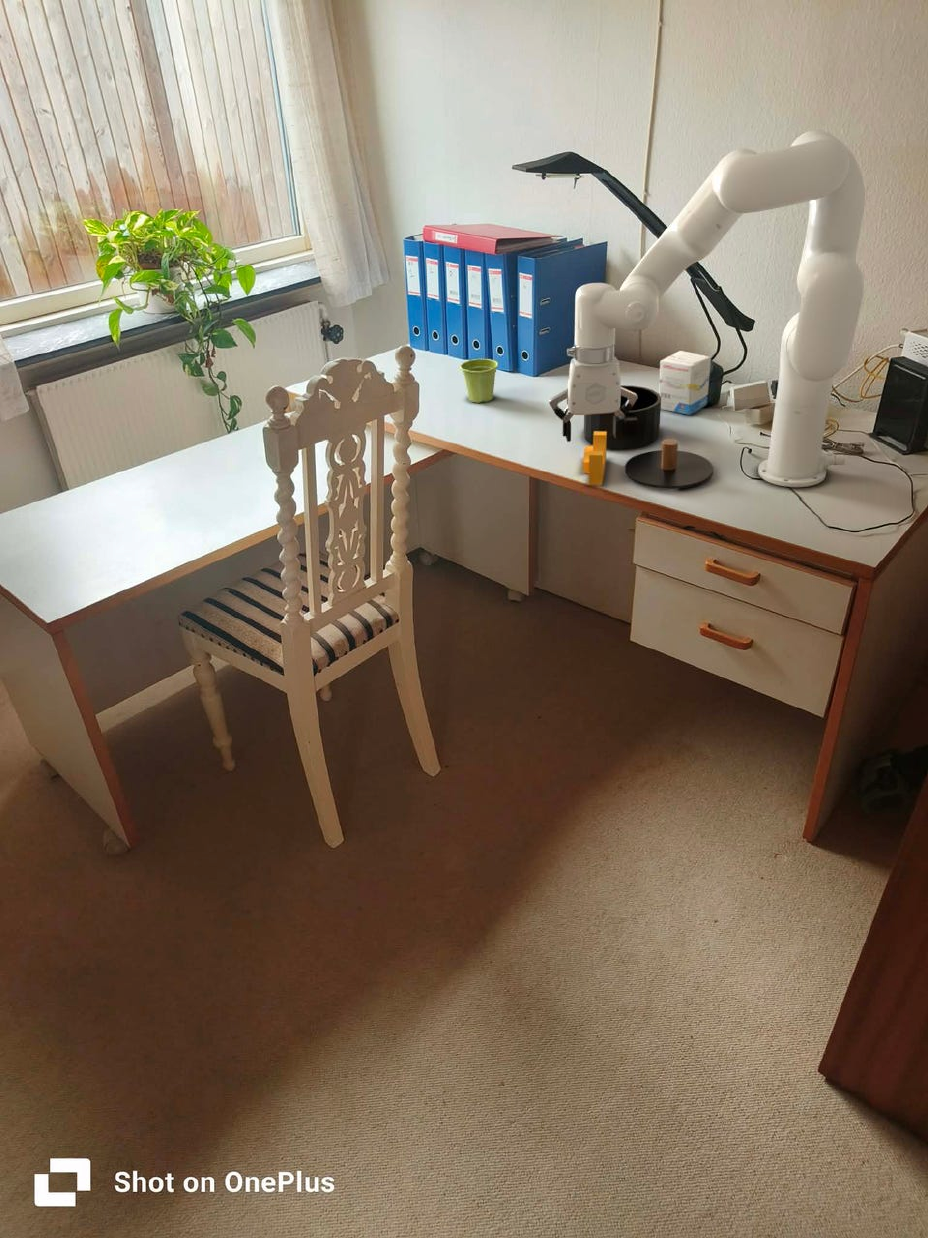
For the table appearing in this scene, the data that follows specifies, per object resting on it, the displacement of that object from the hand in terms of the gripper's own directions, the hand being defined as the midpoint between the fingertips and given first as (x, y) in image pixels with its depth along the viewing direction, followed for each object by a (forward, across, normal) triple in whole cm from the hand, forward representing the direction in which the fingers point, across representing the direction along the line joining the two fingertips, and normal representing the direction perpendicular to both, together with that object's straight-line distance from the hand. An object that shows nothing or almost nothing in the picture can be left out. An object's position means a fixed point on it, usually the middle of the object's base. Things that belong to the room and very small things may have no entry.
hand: (591, 437), depth 176 cm
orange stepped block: (+8, 0, 0) cm, 8 cm away
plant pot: (+8, -20, +48) cm, 53 cm away
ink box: (+7, +26, +32) cm, 42 cm away
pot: (+7, +10, +18) cm, 22 cm away
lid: (+7, +15, -3) cm, 17 cm away
